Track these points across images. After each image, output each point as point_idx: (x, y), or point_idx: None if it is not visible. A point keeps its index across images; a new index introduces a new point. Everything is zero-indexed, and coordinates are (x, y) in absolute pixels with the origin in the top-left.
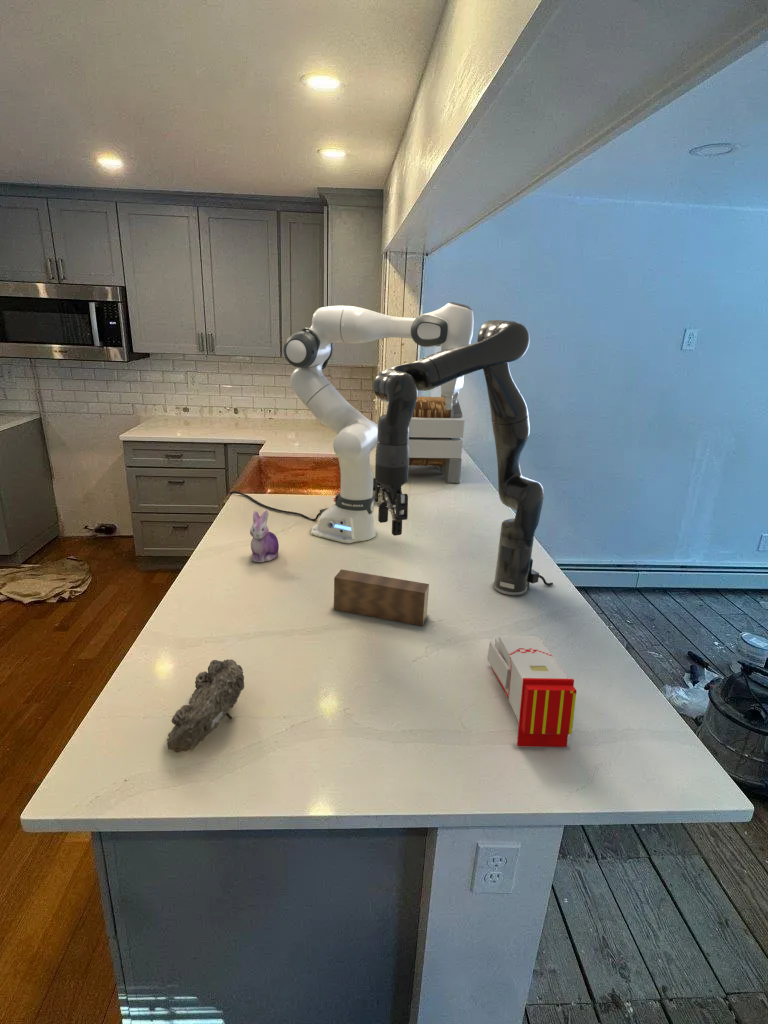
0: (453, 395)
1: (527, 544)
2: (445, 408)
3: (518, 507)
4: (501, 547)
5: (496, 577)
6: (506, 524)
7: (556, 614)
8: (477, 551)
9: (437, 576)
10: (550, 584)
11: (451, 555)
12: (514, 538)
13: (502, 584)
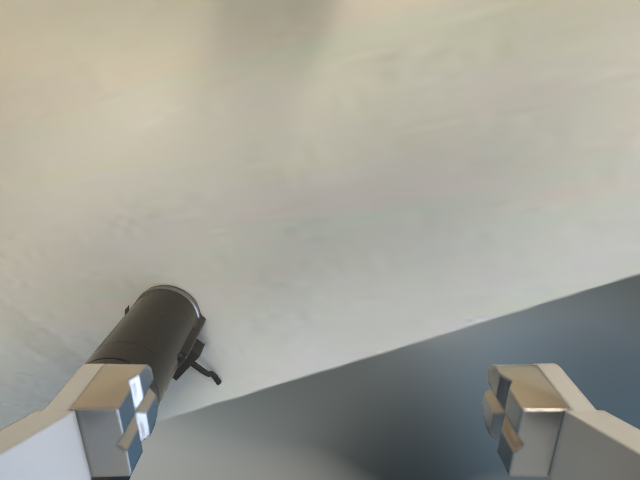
0: (619, 473)
1: None
2: (84, 365)
3: None
4: (102, 344)
5: (139, 301)
6: None
7: None
8: (332, 234)
9: (152, 167)
10: (214, 380)
11: (283, 178)
12: None
13: (127, 311)
